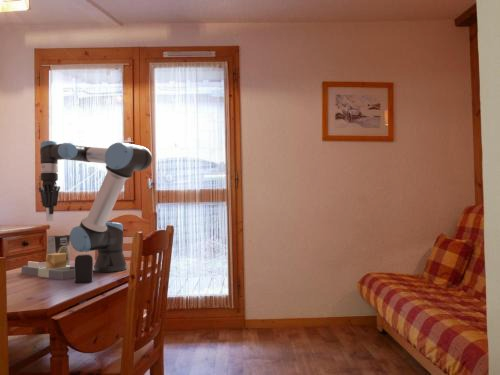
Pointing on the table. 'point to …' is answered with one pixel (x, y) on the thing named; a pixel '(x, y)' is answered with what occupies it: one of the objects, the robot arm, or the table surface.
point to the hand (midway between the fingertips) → (49, 220)
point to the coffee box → (59, 245)
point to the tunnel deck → (48, 271)
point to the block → (55, 260)
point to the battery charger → (83, 268)
